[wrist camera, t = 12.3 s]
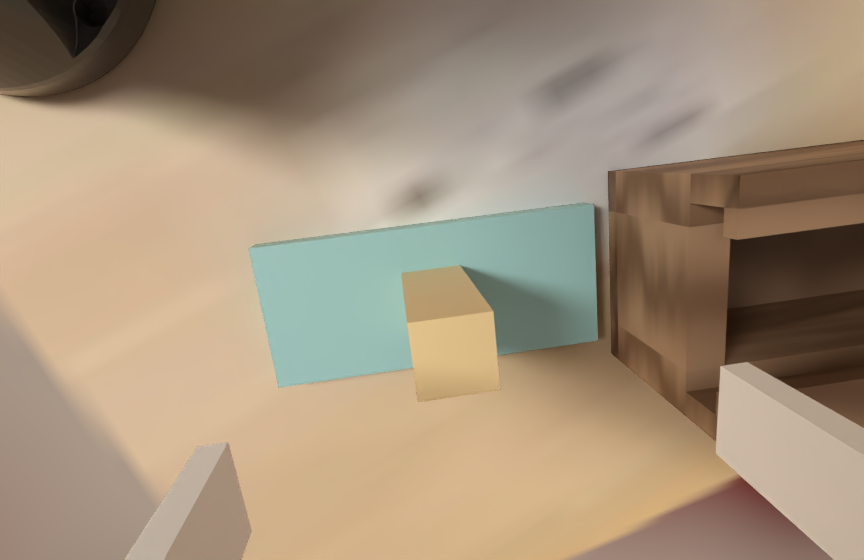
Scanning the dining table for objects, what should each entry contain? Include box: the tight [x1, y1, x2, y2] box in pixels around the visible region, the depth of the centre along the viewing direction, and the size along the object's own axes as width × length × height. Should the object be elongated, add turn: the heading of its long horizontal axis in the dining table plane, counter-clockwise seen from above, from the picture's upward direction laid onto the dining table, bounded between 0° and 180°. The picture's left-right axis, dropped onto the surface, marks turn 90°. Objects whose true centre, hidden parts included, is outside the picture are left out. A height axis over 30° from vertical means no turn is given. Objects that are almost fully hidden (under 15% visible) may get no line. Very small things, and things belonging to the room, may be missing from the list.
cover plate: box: [249, 203, 598, 402], centre depth 24 cm, size 9×20×11 cm, turn 97°
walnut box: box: [608, 140, 864, 441], centre depth 25 cm, size 12×23×11 cm, turn 97°
